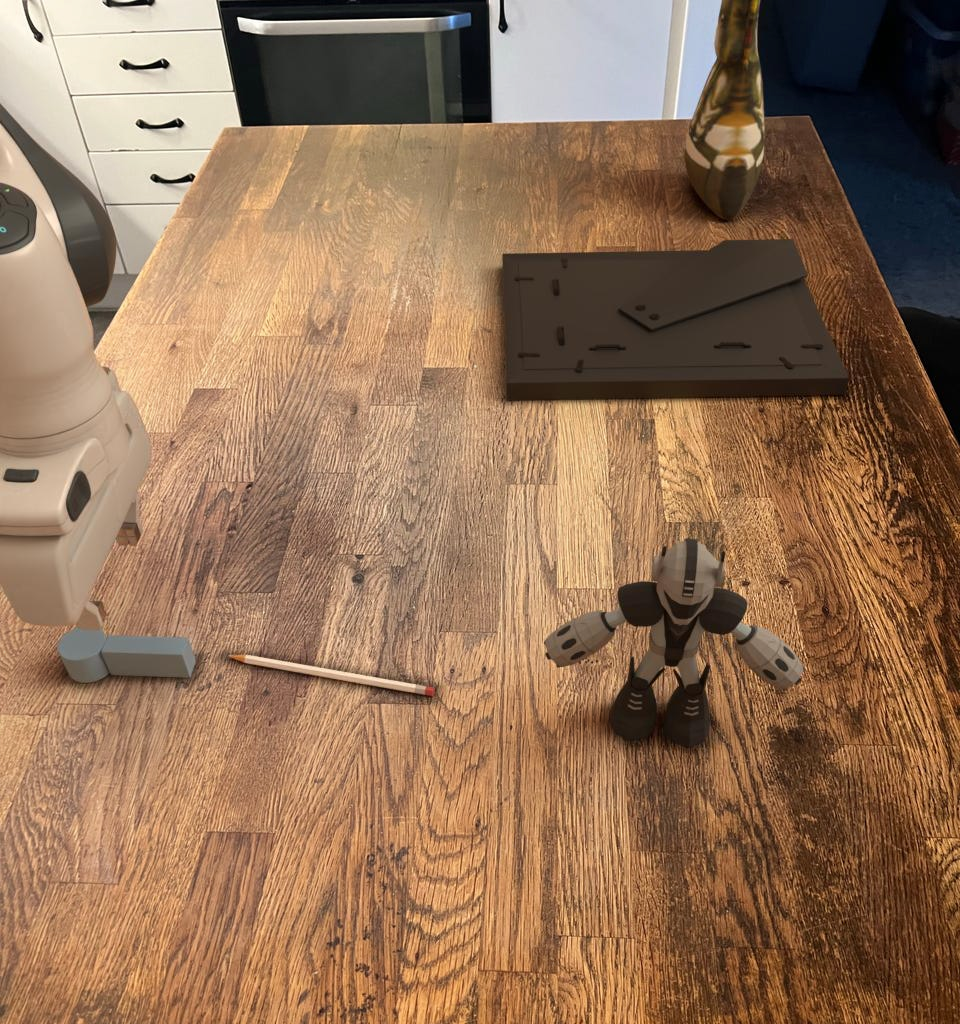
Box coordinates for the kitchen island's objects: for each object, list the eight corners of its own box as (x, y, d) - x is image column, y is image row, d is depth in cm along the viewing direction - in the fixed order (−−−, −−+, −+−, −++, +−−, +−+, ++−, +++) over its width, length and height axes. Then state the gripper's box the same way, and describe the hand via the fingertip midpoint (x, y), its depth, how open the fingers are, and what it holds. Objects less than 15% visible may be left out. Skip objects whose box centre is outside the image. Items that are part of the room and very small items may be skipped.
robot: (779, 711, 82) (840, 527, 67) (783, 758, 79) (847, 576, 64) (543, 686, 84) (552, 502, 69) (537, 731, 81) (545, 549, 66)
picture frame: (787, 265, 133) (502, 270, 134) (793, 238, 131) (502, 244, 131) (844, 395, 113) (506, 400, 113) (852, 367, 110) (506, 373, 110)
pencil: (432, 698, 84) (431, 693, 83) (226, 661, 87) (224, 656, 86) (434, 691, 84) (434, 685, 84) (230, 655, 87) (228, 649, 87)
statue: (766, 222, 142) (824, -73, 116) (691, 225, 142) (732, -70, 116) (740, 173, 153) (788, -105, 128) (670, 176, 153) (704, -102, 127)
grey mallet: (199, 652, 88) (191, 628, 85) (187, 686, 85) (179, 663, 83) (77, 648, 88) (66, 624, 86) (61, 682, 85) (50, 659, 83)
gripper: (64, 352, 75) (114, 494, 86) (-48, 530, 62) (27, 675, 72) (146, 354, 75) (186, 497, 85) (51, 534, 61) (113, 679, 72)
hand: (113, 580), depth 78 cm, fingers open, 8 cm apart
